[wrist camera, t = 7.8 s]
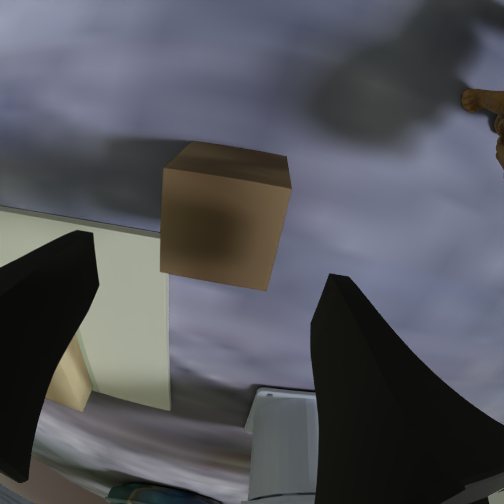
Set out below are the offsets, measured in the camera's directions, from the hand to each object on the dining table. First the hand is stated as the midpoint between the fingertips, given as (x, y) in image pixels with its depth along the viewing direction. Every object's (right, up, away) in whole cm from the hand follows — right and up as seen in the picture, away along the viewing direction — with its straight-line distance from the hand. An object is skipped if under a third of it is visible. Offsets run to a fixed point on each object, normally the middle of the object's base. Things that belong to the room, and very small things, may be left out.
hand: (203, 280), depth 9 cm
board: (-11, -5, +12) cm, 17 cm away
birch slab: (-15, -7, +13) cm, 21 cm away
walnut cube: (0, +4, +6) cm, 8 cm away
